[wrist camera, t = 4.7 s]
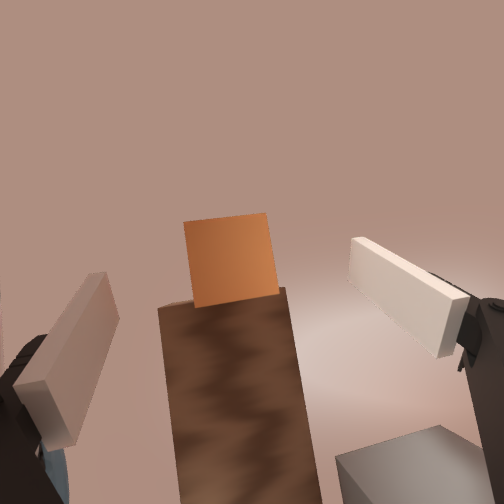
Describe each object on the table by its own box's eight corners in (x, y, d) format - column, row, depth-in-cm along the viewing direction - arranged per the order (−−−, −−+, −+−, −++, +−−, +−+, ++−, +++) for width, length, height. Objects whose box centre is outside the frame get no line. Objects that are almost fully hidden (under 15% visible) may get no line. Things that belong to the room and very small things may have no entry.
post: (215, 792, 17) (157, 308, 21) (210, 612, 27) (172, 303, 30) (359, 719, 19) (285, 287, 23) (306, 575, 29) (260, 288, 32)
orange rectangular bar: (195, 308, 12) (183, 221, 13) (199, 298, 34) (195, 265, 34) (279, 293, 13) (265, 212, 14) (232, 292, 35) (227, 261, 35)
